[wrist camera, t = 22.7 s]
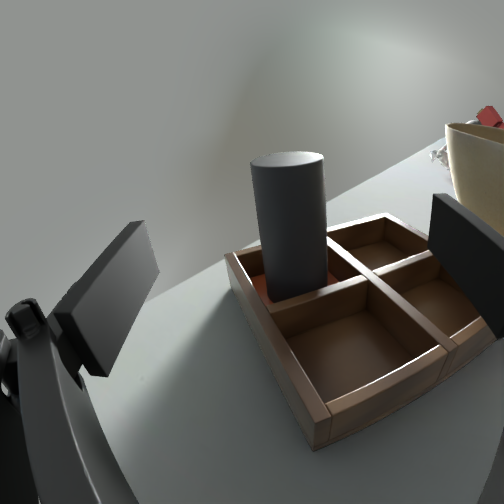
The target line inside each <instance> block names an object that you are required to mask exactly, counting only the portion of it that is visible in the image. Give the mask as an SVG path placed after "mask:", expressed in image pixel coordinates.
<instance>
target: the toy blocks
mask: <svg viewBox="0 0 504 504" xmlns="http://www.w3.org/2000/svg"><path fill="white" fill-rule="evenodd" d="M477 114H478V115H477V116H476V117H477V118H478V119H479V121H480V122H481V124H482V125H484V126H490V127H496V128H501V129H504V123H503V122H502V121H503V120H502V118H501V117H500V116H499V114H498V113H497V112H496V110H495V109H494V108H493V106H486V107H485V108H484V109H481V110H480V111H479V112H478V113H477Z"/></svg>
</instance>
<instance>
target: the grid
mask: <svg viewBox="0 0 504 504" xmlns="http://www.w3.org/2000/svg"><path fill="white" fill-rule="evenodd" d="M428 237H429V236H428V235H426V234H424V233H422V232H421V231H419V230H417V229H415V228H413V227H412V226H410V225H408V224H406V223H404V222H403V221H401V220H399V219H397V218H395V217H393V216H391V215H390V214H388V213H384V214H381V215H377V216H373V217H369V218H365V219H361V220H357V221H353V222H349V223H345V224H341V225H337V226H333V227H329V228H327V267H328V286H327V287H324V288H321V289H318V290H315V291H312V292H309V293H306V294H303V295H300V296H296V297H293V298H290V299H287V300H284V301H280V302H277V303H273V302H272V301H271V300H270V299H269V297H268V294H267V287H266V280H265V272H264V264H263V256H262V249H261V245H259V246H255V247H251V248H247V249H243V250H240V251H236V252H232V253H228V254H225V255H224V256H225V261H226V266H227V271H228V276H229V280H230V286H231V288H232V290H233V292H234V294H235V296H236V298H237V300H238V303H239V305H240V307H241V309H242V311H243V313H244V315H245V317H246V319H247V322H248V324H249V326H250V328H251V330H252V332H253V334H254V336H255V338H256V340H257V342H258V344H259V346H260V348H261V350H262V353H263V355H264V357H265V359H266V361H267V363H268V365H269V367H270V369H271V371H272V373H273V375H274V377H275V379H276V381H277V383H278V385H279V387H280V389H281V391H282V393H283V395H284V397H285V399H286V401H287V403H288V405H289V407H290V408H291V410H292V412H293V414H294V416H295V418H296V420H297V422H298V424H299V426H300V428H301V430H302V432H303V434H304V435H305V437H306V439H307V441H308V443H309V445H310V447H311V449H312V451H316V450H318V449H320V448H323V447H325V446H327V445H330V444H332V443H334V442H336V441H339V440H341V439H343V438H345V437H347V436H349V435H352V434H354V433H356V432H358V431H360V430H362V429H364V428H366V427H368V426H370V425H372V424H373V423H375V422H377V421H379V420H381V419H383V418H385V417H386V416H388V415H390V414H392V413H394V412H395V411H397V410H399V409H401V408H402V407H404V406H406V405H407V404H409V403H411V402H412V401H414V400H415V399H417V398H419V397H420V396H422V395H423V394H425V393H426V392H428V391H430V390H431V389H433V388H434V387H436V386H437V385H439V384H440V383H441V382H443V381H444V380H446V379H447V378H449V377H450V376H451V375H453V374H454V373H456V372H457V371H458V370H460V369H461V368H462V367H464V366H465V365H466V364H468V363H469V362H470V361H471V360H473V359H474V358H475V357H476V356H478V355H479V354H480V353H481V352H483V351H484V350H485V349H486V348H488V347H489V346H490V345H491V344H492V343H493V342H495V341H496V340H497V339H496V337H495V336H494V334H493V333H492V331H491V330H490V328H489V327H488V325H487V324H486V322H485V321H484V319H483V318H482V317H481V315H480V314H479V312H478V311H477V310H476V308H475V307H474V306H473V304H472V303H471V302H470V300H469V299H468V297H467V296H466V295H465V294H464V292H463V291H462V290H461V288H460V287H459V286H458V284H457V283H456V282H455V281H454V279H453V278H452V277H451V276H450V274H449V273H448V272H447V271H446V269H445V268H444V267H443V266H442V265H441V263H440V262H439V261H438V260H437V259H436V257H435V256H434V255H433V254H432V253H431V252H430V250H429V249H428V248H427V244H428Z"/></svg>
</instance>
